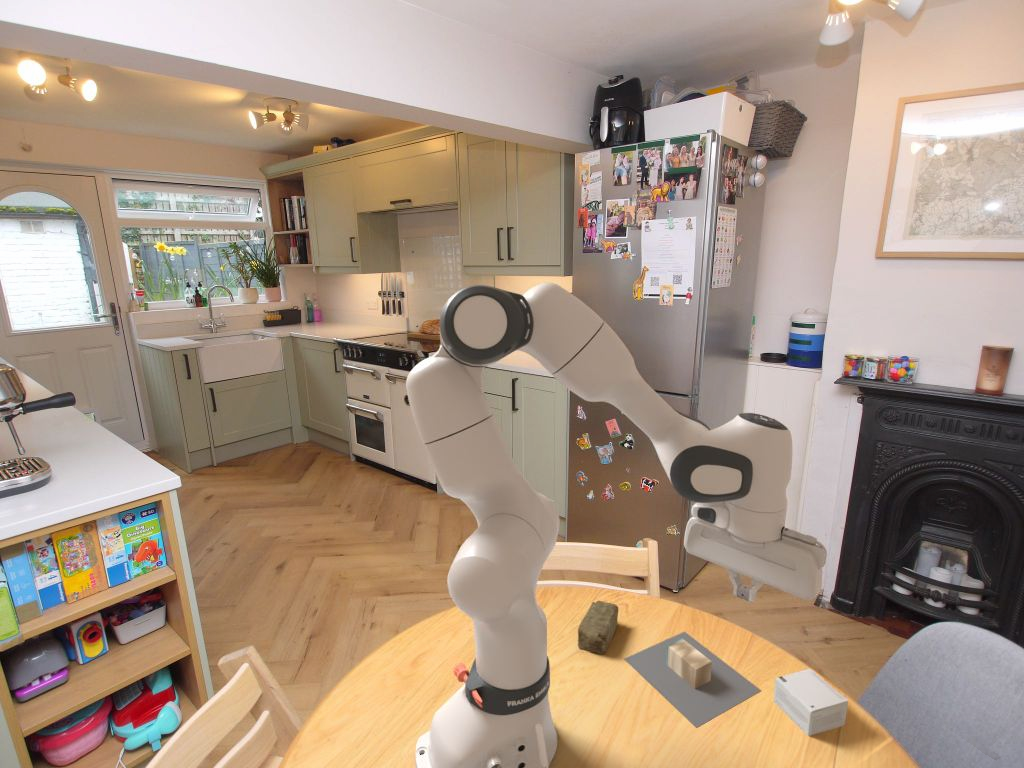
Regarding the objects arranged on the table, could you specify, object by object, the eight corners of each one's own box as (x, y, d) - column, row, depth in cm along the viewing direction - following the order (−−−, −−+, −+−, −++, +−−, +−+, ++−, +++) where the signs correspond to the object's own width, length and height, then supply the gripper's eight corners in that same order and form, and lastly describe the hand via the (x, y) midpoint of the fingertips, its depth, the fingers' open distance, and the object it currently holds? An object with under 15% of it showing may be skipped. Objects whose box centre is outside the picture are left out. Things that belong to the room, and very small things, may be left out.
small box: (846, 727, 86) (850, 700, 85) (807, 739, 84) (810, 712, 83) (808, 692, 94) (811, 667, 93) (771, 702, 91) (774, 677, 90)
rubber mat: (696, 729, 86) (696, 727, 86) (623, 660, 102) (623, 658, 101) (761, 692, 93) (761, 690, 93) (684, 633, 109) (684, 631, 109)
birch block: (695, 669, 93) (667, 645, 99) (694, 689, 94) (666, 664, 100) (711, 661, 95) (682, 638, 101) (710, 680, 96) (681, 656, 102)
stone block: (619, 624, 112) (619, 603, 111) (604, 659, 102) (605, 637, 101) (592, 617, 115) (593, 596, 114) (576, 651, 105) (576, 629, 104)
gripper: (834, 534, 76) (822, 618, 79) (700, 492, 90) (694, 565, 93) (821, 550, 72) (809, 638, 75) (682, 503, 86) (676, 579, 89)
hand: (744, 597), depth 84 cm, fingers closed
